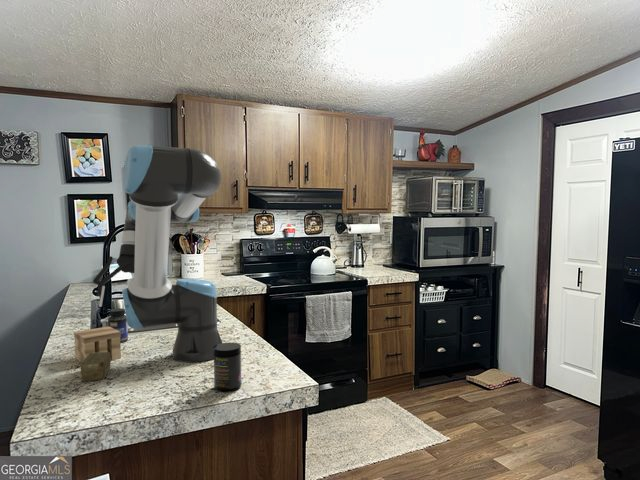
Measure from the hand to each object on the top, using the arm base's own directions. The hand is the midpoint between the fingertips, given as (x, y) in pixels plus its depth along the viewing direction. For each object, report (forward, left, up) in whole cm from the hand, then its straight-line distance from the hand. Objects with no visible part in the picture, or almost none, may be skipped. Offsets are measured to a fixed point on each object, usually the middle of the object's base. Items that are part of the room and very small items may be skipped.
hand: (123, 308), depth 143 cm
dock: (-7, +10, -13) cm, 18 cm away
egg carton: (+33, -9, -13) cm, 36 cm away
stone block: (-21, +15, -13) cm, 29 cm away
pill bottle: (+7, -1, -13) cm, 15 cm away
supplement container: (-55, -5, -13) cm, 56 cm away
